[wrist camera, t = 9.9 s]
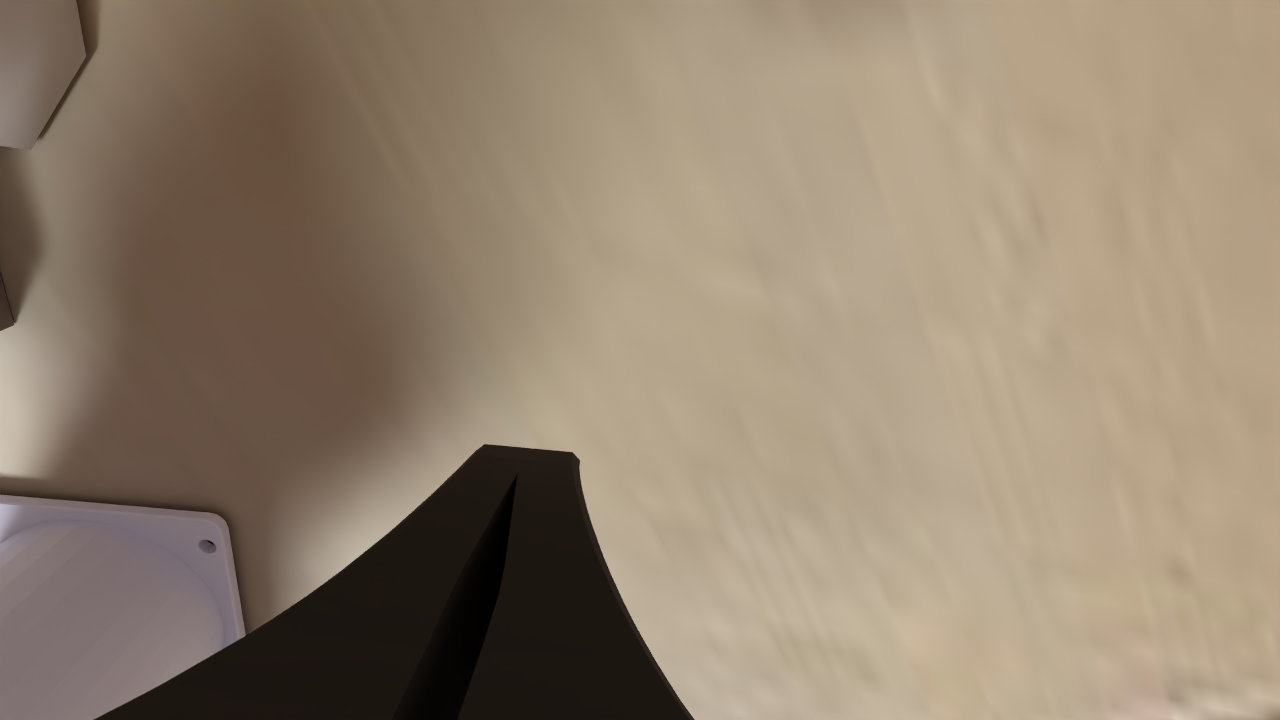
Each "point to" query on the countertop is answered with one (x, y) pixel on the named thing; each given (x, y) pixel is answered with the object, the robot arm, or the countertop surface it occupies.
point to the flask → (35, 64)
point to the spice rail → (4, 309)
